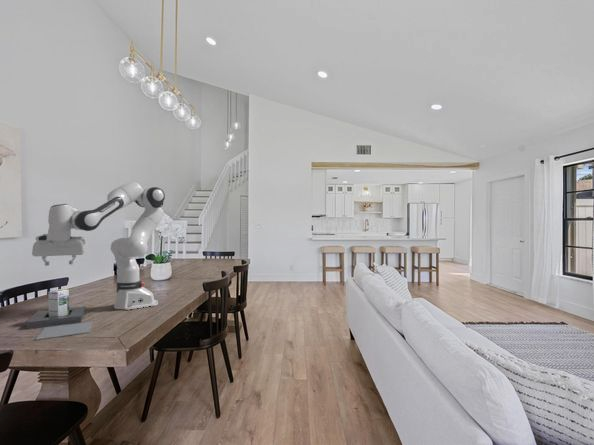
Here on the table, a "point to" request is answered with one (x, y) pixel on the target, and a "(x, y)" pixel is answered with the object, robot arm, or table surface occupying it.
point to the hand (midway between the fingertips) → (59, 264)
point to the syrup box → (59, 302)
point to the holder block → (56, 318)
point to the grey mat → (65, 330)
